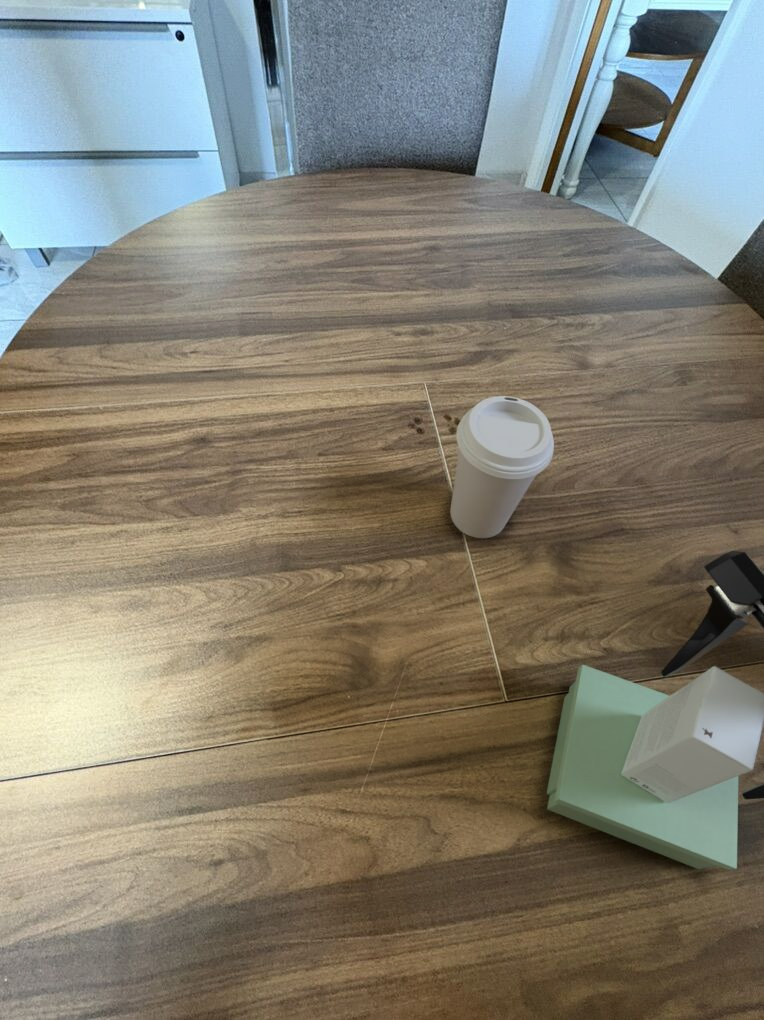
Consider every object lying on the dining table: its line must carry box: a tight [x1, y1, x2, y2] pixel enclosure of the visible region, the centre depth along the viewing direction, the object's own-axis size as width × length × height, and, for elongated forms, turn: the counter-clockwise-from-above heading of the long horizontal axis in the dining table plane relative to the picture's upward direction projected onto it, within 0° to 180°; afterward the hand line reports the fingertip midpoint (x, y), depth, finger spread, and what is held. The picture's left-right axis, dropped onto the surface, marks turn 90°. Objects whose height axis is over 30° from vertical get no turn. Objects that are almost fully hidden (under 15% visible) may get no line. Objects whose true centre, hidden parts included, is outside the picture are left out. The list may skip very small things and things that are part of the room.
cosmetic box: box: [621, 665, 764, 803], centre depth 46 cm, size 6×4×12 cm
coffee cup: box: [449, 395, 555, 539], centre depth 64 cm, size 10×10×15 cm
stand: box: [546, 664, 739, 871], centre depth 53 cm, size 14×12×5 cm
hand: (701, 732), depth 45 cm, fingers open, 9 cm apart
